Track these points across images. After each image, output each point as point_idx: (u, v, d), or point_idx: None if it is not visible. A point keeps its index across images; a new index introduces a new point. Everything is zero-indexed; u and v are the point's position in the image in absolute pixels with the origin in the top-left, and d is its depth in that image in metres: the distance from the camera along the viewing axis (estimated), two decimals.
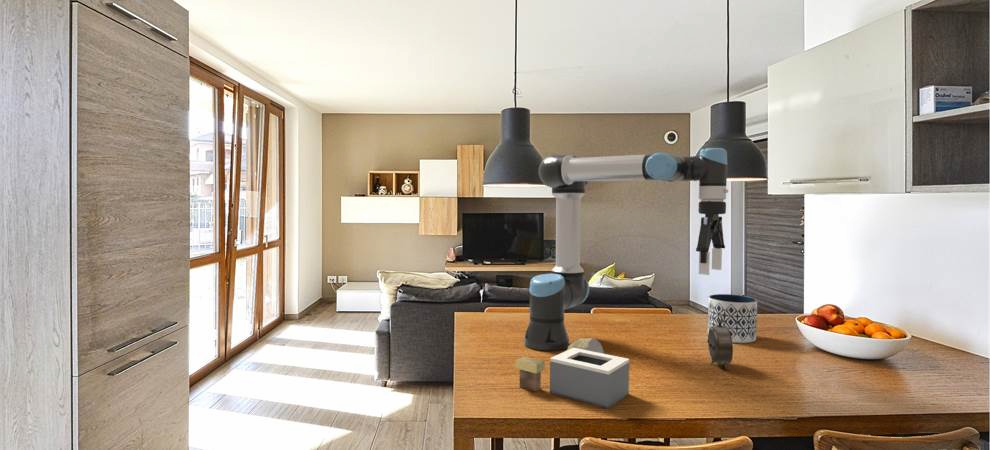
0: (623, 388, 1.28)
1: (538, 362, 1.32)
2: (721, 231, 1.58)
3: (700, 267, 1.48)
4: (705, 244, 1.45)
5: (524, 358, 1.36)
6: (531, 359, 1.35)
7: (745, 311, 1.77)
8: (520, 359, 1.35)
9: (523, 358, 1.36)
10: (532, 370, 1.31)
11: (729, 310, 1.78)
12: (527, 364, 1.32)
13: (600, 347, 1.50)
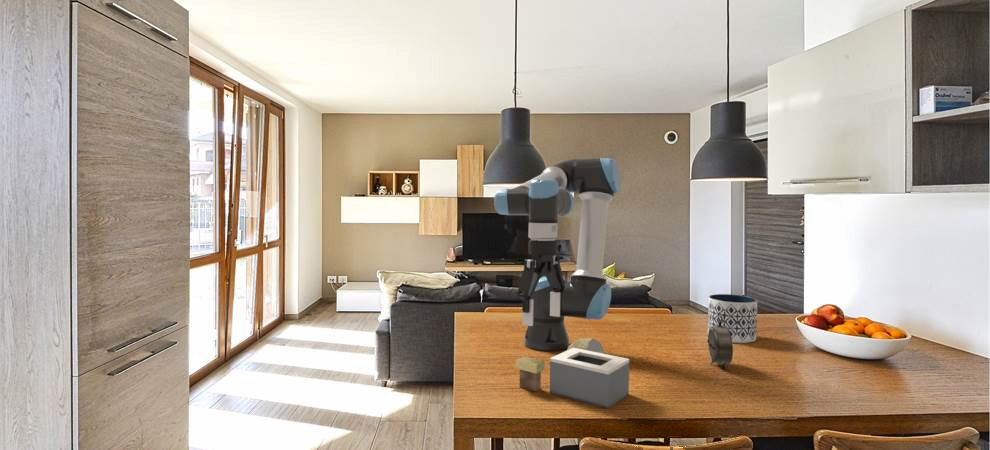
0: (623, 388, 1.28)
1: (538, 362, 1.32)
2: (559, 273, 1.39)
3: (523, 317, 1.29)
4: (525, 291, 1.26)
5: (524, 358, 1.36)
6: (531, 359, 1.35)
7: (745, 311, 1.77)
8: (520, 359, 1.35)
9: (523, 358, 1.36)
10: (532, 370, 1.31)
11: (729, 310, 1.78)
12: (527, 364, 1.32)
13: (600, 347, 1.50)
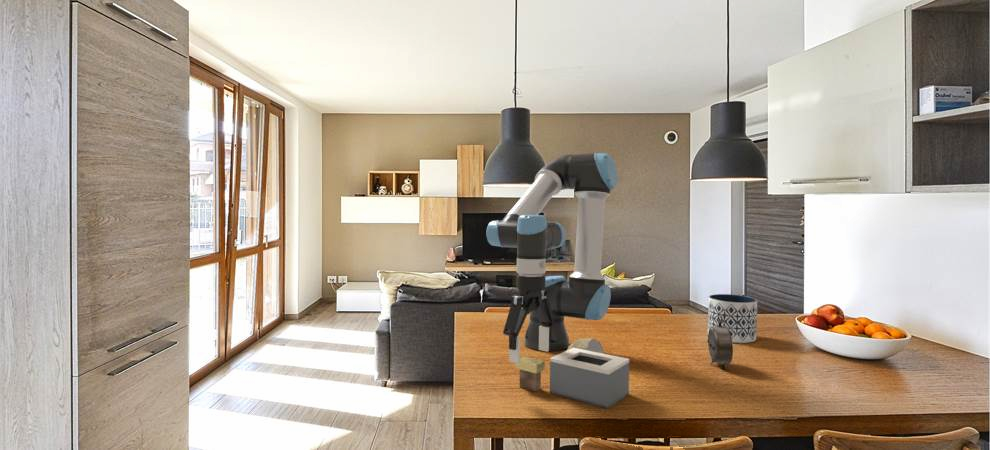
0: (623, 388, 1.28)
1: (538, 362, 1.32)
2: (548, 307, 1.38)
3: (510, 353, 1.28)
4: (511, 329, 1.25)
5: (524, 358, 1.36)
6: (531, 359, 1.35)
7: (745, 311, 1.77)
8: (520, 359, 1.35)
9: (523, 358, 1.36)
10: (532, 370, 1.31)
11: (729, 310, 1.78)
12: (527, 364, 1.32)
13: (600, 347, 1.50)
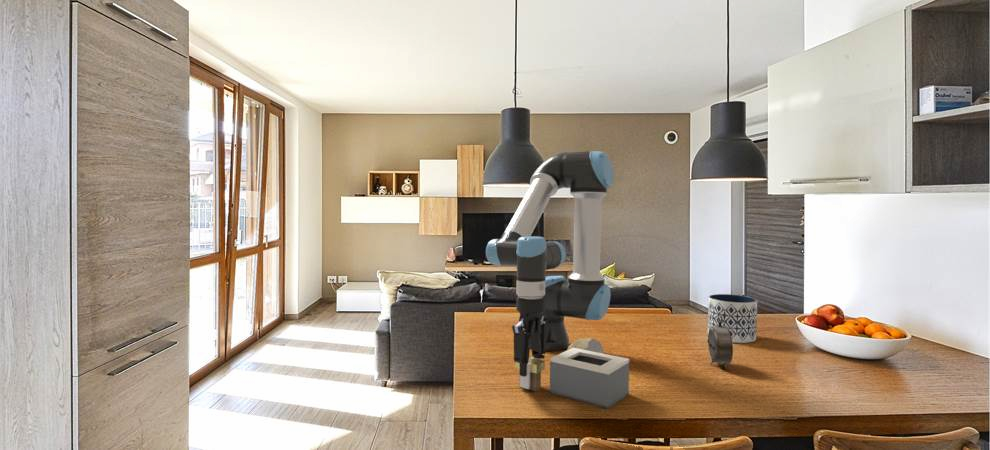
0: (623, 388, 1.28)
1: (538, 362, 1.32)
2: (543, 334, 1.37)
3: (521, 379, 1.33)
4: (521, 358, 1.29)
5: None
6: (531, 359, 1.35)
7: (745, 311, 1.77)
8: None
9: None
10: (532, 370, 1.31)
11: (729, 310, 1.78)
12: None
13: (600, 347, 1.50)
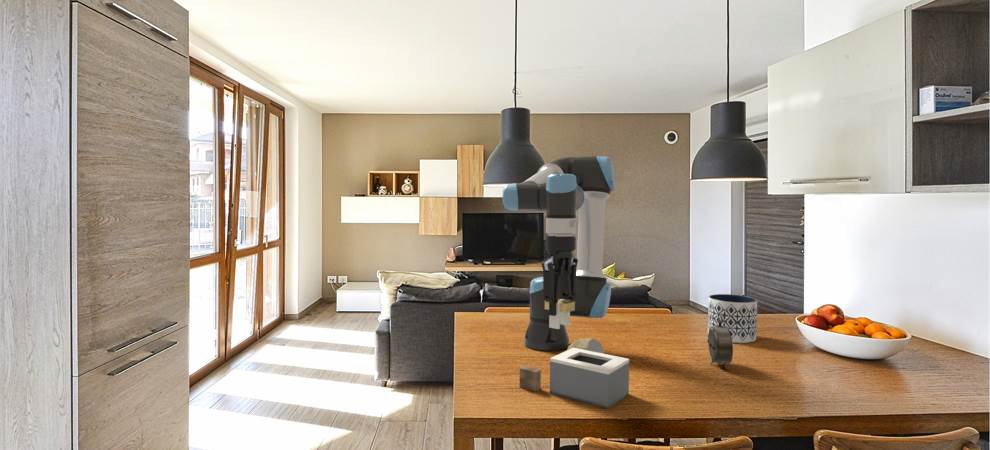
0: (623, 388, 1.28)
1: (568, 302, 1.29)
2: (573, 275, 1.34)
3: (550, 320, 1.30)
4: (550, 296, 1.26)
5: None
6: (560, 300, 1.32)
7: (745, 311, 1.77)
8: None
9: None
10: (562, 310, 1.28)
11: (728, 310, 1.78)
12: None
13: (600, 347, 1.50)
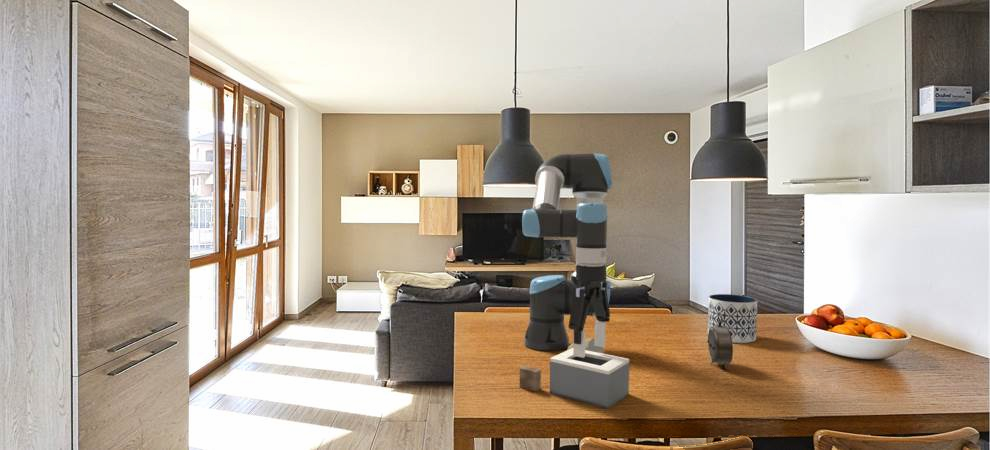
0: (623, 388, 1.28)
1: None
2: (605, 300, 1.34)
3: (575, 348, 1.26)
4: (577, 323, 1.22)
5: None
6: None
7: (745, 311, 1.77)
8: None
9: None
10: None
11: (729, 310, 1.78)
12: None
13: (600, 347, 1.50)
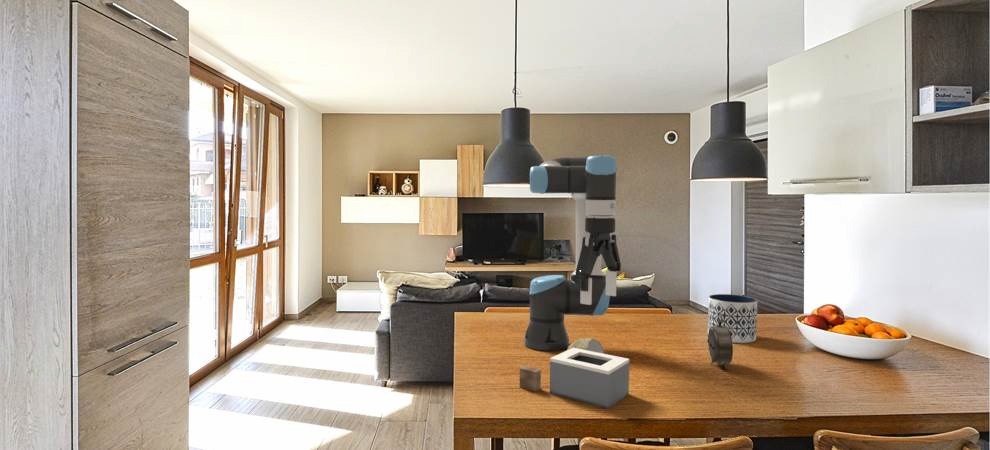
0: (623, 388, 1.28)
1: None
2: (615, 251, 1.36)
3: (582, 295, 1.27)
4: (584, 269, 1.23)
5: None
6: None
7: (745, 311, 1.77)
8: None
9: None
10: None
11: (729, 310, 1.78)
12: None
13: (600, 347, 1.50)
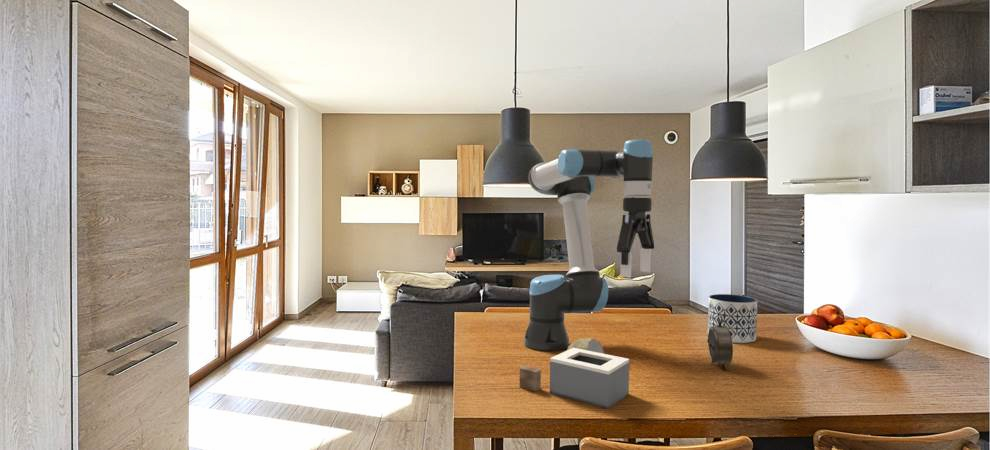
0: (623, 388, 1.28)
1: None
2: (649, 230, 1.46)
3: (622, 269, 1.36)
4: (625, 244, 1.33)
5: None
6: None
7: (745, 311, 1.77)
8: None
9: None
10: None
11: (729, 310, 1.78)
12: None
13: (600, 347, 1.50)
